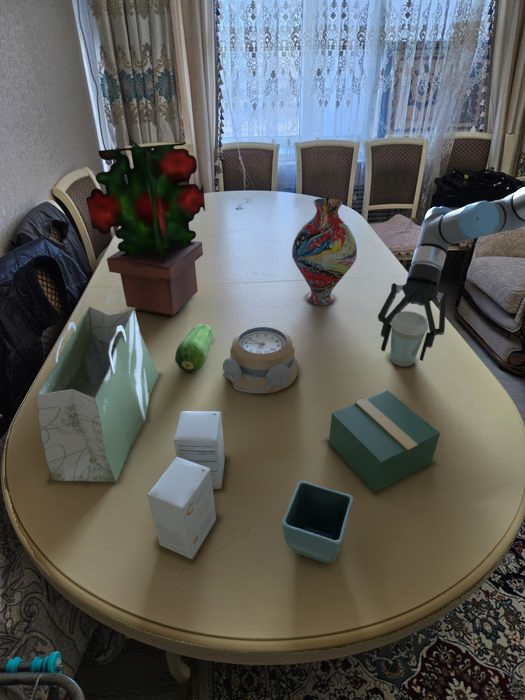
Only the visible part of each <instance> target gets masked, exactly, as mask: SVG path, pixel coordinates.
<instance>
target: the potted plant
mask: <svg viewBox="0 0 525 700" xmlns="http://www.w3.org/2000/svg"><path fill="white" fill-rule="evenodd" d="M130 142H131V143H132V145H131V147H122V148H112V149H102V150H97V152H98V156H99V157H100V159H101V160H103V161H115V162H114V163H111V165H110V168H109V170H108V171H100V172H98V173H97V174H96V175H95V181H96V182H97V184H100V185H104V188H105V191H106V193H104V192H103V189H101V188H99V187H96V188H93V189H92V190H91V191H90V195H89V196H87V197H86V198H85V201H86V205H87V210H88V214H89V219H90V223H91V227H92V229H93V230H97V231H98V232H99V233H100V234H101V235H105V236H106V235H109V234H110V232H111V230H112V228H113V227H119V228H117V229H116V230H115V232H114V235H115V237H116V238H117V239H119V240H122V241H119V243H118V244H117V249H118V251H117V252H115V253H113V254H112V255H110V256H109V257H107V258H106V262H107V267H108V272H109V273H113V274H120V279H121V284H122V289H123V290H122V291H123V294H124V299H125V304H126V307H128V308H134V309H136V310H137V311H139V312H145V313H151V314H154V315H155V314H156V315H162V316H167V317H173V316H174V315H176V313H178V312H179V310H180V309H181V308H182V307H183V306H185V304H186V303H187V302H188V301H190V299H192V298H193V296H195V294H197V293H198V280H197V269H196V261H197V260H199V259H200V258H201V257H202V256H204V251H203V242H202V241H195V239H196V237H197V232H196V231H195V230H191V229H190V222H192V221H194V219H195V216H196V215H198V214H199V213H200V212H201V208H202V209H203V211H204V212H206V205H205V204H206V201H205V189H204V188H205V187H204V184H202V185H201V188H200V187H199V186H198V184H196V183H187V184H179V183H186V182H189V181H190V180H191V176H192V175H193V174H196V172H197V170H198V164H197V158H196V157H195V155H191V154H190V153H189V151H188V149H186V148H182V146H184V145H185V144H186V143H187V142H181V143H180V142H179V143H178V142H177V143H168V144H158V145H157V144H156V145H146V146H141V145H139V144H138V143H136V142H135V141H134V140H132V139H130ZM179 146H181V148H175V147H179ZM152 149H153V150H152ZM124 151H125V152H126V151H127V152H128V151H130V153H131V155H130V156H131V159H132V166H133V167H131V161H130V158H129V156H128V155H127V154H124V153H121V152H124ZM125 175H126V177H127V182H128V183H126V179H125Z"/></svg>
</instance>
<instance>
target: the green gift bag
mask: <svg viewBox="0 0 525 700" xmlns="http://www.w3.org/2000/svg"><path fill="white" fill-rule="evenodd" d="M71 329H72V331H73V332H72V333H71V335H70V337H69V339H68V341H67V342H66V344H65V346H64V348H63V349H62V351H61V353H60V350H61V346H62V343H63V341H64V339H65V337H66V335H67V333H68V332H69V331H70V330H71ZM59 353H60V355H59ZM159 376H160V374H159V373H158V370H157V368H156V366H155V364H154V362H153V360H152V358H151V355H150V352H149V351H148V347H147V346H146V343H145V341H144V337H143V336H142V333H141V330H140V326H139V323H138V319H137V315H136V311H135V309H130V310H126V311H122V312H118V313H112V314H107V313H105V312H103V311H101V310H100V309H97V308H94V307H93V306H90V305H89V306H88V307H87V309H86V311H85V312H84V313H83V315H82V317H81V318H80V320H79V322H78V323H77V325H76V324H75V322H74V321H72V322H69V323H68V325H67V328H66V331H65V332H64V333H63V334H62V336H60V338H59V340H58V343H57V346H56V349H55V357H54V365H53V367H52V369H51V371H50V372H49V374H48V375H47V378H46V379H45V381H44V383H43V384H42V386H41V387H40V389H39V391H38V393H37V394H36V399H37V401H36V402H37V403H36V404H37V421H38V426H39V432H40V437H41V443H42V449H43V453H44V456H45V461H46V463H47V466H48V470H49V474H50V477H51V480H52V481H58V482H59V481H62V482H63V481H64V482H67V481H68V482H102V483H103V482H104V483H105V482H108V483H109V482H110V483H117V482H118V479H119V476H120V474H121V471H122V469H123V467H124V464H125V463H126V459H127V457H128V455H129V453H130V450H131V448H132V446H133V444H134V443H135V441H136V439H137V437H138V435H139V434H140V431H141V430H142V427H143V426H144V424H145V422H146V417H147V412H148V408H149V407H148V406H149V400H150V395H151V393H152V392H153V388H154V387H155V384H156V382H157V380H158V378H159Z"/></svg>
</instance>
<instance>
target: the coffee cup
mask: <svg viewBox="0 0 525 700" xmlns="http://www.w3.org/2000/svg"><path fill="white" fill-rule="evenodd" d="M390 324H391V326H392V328H391V332H390V335H391V336H390V351H389V352H390V357H389V358H390V361H391V362H392V363H393V364H394V365H397V366H399V367H410V366H412V365H413V364H414V363H415V361H416V357H417V356H418V352H419V349H420V348H421V346H422V345H421V344H422V342H423V339H424V338H425V335H426V333H427V332H428V329H429V326H428V321H427V317H425V316H424V315H422V314H420V313H419V312H415V311H409V310H405V311H401V312H399V313H397V314H396V315H395V317H394V318H393V319H392V322H391V323H390Z"/></svg>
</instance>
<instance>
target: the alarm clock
mask: <svg viewBox="0 0 525 700" xmlns="http://www.w3.org/2000/svg"><path fill="white" fill-rule="evenodd" d="M295 350H296V349H295V346H294V344H293V339H292V338H291V337H290V335H288V333H286V332H284V331H282V330H280V329H278V328H275V327H267V326H257V327H252V328H247V329H245V330H242V331H240V332H239V333H238V334H237V335H235V337H234V338H233V339H232V343H231V345H230V350H229V352H230V355H229V357H228V358H225V359H224V361H223V363H222V370H223V373H222V377H226V378H227V379H228V380H229V381H231V383H232V386H233V388H234V389H235V390H237V391H238V392H239V391H240V392H243V393H247V394H249V393H250V394H270V393H276V392H279V391H282V390H284V389H286V388H287V387H289V386H290V385H291V384H293V382H295V380H296V378H297V376H298V364H299V363H298V362H299V361H298V359H297V356H296V354H295V352H296V351H295Z"/></svg>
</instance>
